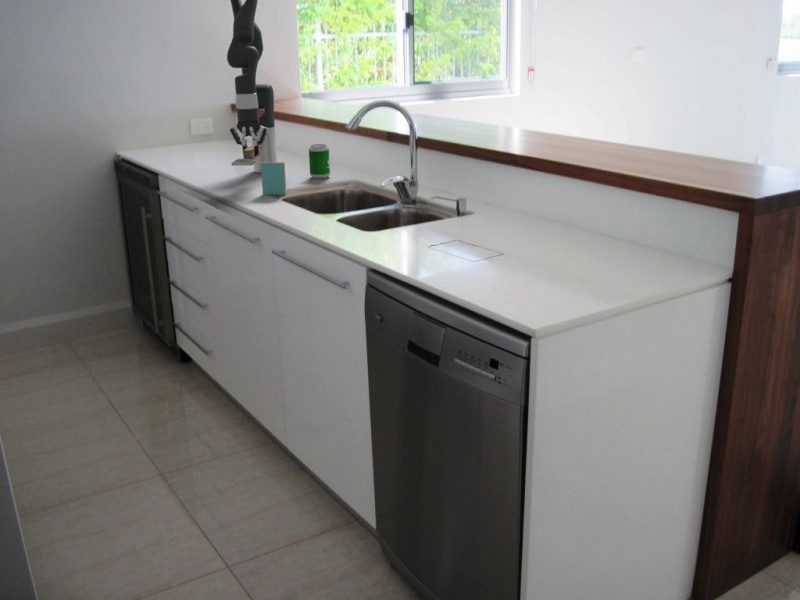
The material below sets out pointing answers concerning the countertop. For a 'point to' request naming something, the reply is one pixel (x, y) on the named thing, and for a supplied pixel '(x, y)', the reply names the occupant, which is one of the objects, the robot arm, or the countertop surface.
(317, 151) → the soda can
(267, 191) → the tile
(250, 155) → the turner
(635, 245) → the countertop surface
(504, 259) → the countertop surface
